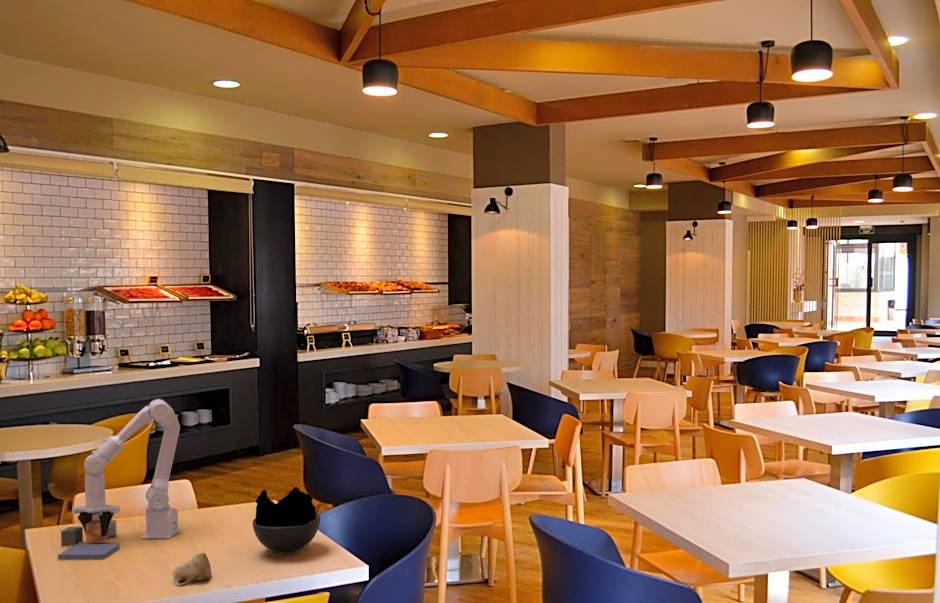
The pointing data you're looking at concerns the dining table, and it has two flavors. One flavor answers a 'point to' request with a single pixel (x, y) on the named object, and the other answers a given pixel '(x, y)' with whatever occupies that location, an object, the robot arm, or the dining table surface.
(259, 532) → the bowl of black rocks
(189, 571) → the beige lumpy soft piece
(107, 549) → the blue-grey rectangular slab
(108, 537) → the grey cube
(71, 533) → the black rubber block
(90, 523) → the terracotta block
